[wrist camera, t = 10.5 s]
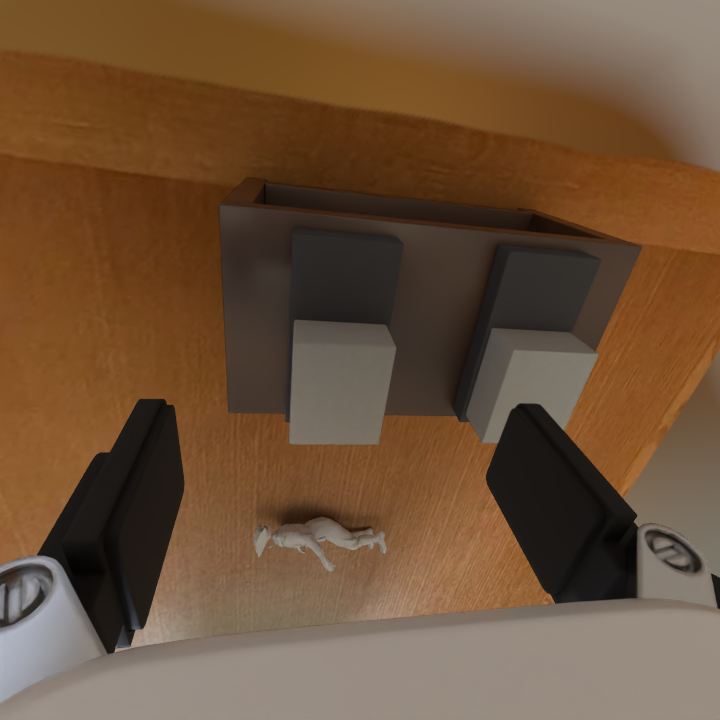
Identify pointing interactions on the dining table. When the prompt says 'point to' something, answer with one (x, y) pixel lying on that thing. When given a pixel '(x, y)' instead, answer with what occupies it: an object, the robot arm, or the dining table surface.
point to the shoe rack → (414, 288)
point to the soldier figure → (317, 537)
